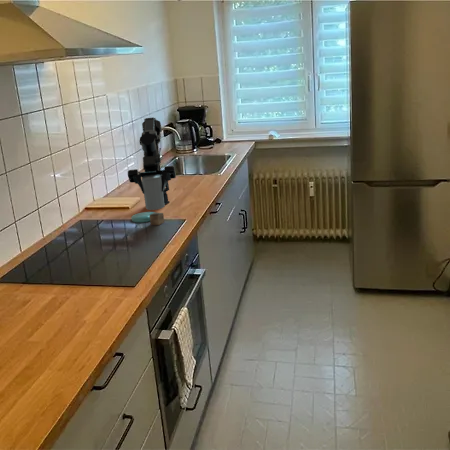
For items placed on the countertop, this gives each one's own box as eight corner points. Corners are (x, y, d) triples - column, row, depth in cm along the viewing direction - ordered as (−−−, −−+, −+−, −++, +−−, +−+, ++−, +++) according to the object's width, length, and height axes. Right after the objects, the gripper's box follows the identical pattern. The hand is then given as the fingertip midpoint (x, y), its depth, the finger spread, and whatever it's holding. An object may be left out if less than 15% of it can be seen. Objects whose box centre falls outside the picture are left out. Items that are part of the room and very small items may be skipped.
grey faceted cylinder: (142, 209, 204) (138, 178, 200) (152, 203, 210) (148, 174, 206) (157, 210, 201) (153, 179, 197) (168, 204, 207) (164, 174, 203)
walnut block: (150, 224, 207) (149, 215, 206) (156, 221, 210) (154, 212, 209) (159, 225, 205) (157, 215, 204) (164, 222, 209) (163, 212, 207)
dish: (126, 221, 214) (126, 218, 213) (141, 213, 223) (141, 211, 222) (148, 223, 209) (147, 220, 208) (162, 215, 218) (162, 212, 217)
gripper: (124, 150, 202) (125, 183, 195) (171, 145, 202) (174, 178, 195) (129, 165, 211) (130, 198, 205) (174, 161, 212) (177, 193, 205)
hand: (152, 192), depth 202 cm, fingers closed on grey faceted cylinder, 7 cm apart
